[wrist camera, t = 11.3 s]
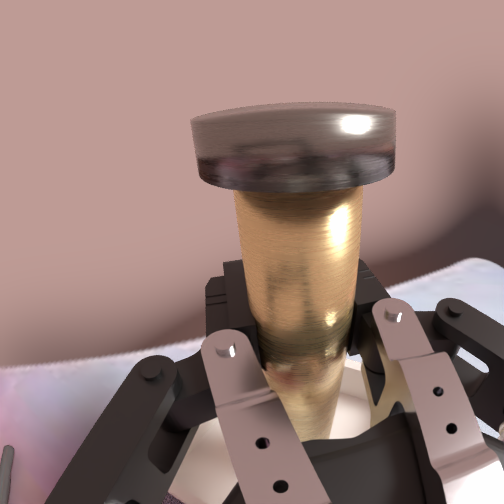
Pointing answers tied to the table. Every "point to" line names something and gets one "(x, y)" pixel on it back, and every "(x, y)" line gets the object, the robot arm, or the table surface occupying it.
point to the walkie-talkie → (5, 473)
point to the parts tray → (218, 460)
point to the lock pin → (299, 233)
